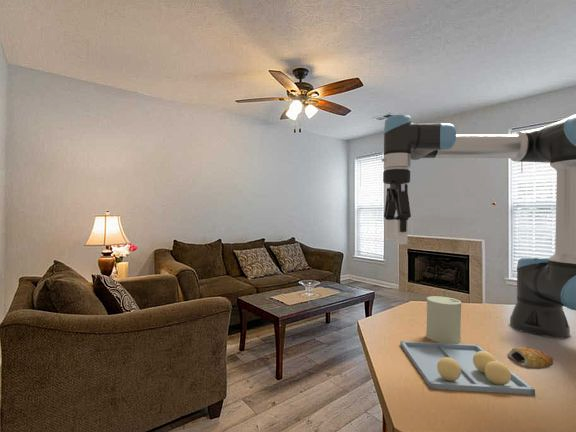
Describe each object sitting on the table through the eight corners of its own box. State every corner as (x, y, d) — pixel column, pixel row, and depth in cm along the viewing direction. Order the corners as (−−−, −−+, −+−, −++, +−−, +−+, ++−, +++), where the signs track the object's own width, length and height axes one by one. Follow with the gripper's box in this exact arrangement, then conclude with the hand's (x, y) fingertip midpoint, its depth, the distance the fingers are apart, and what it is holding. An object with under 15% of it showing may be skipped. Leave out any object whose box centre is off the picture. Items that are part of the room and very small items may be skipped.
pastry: (535, 356, 82) (535, 341, 82) (562, 369, 75) (563, 353, 75) (504, 359, 80) (505, 344, 80) (529, 372, 73) (530, 356, 73)
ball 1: (489, 367, 73) (489, 348, 73) (501, 378, 69) (501, 356, 69) (468, 366, 74) (469, 347, 74) (479, 376, 69) (479, 355, 69)
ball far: (455, 375, 70) (455, 354, 70) (465, 386, 65) (465, 363, 65) (433, 373, 70) (433, 353, 70) (442, 384, 65) (442, 362, 65)
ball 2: (502, 378, 68) (502, 357, 68) (515, 390, 64) (516, 367, 64) (480, 377, 69) (480, 356, 69) (492, 389, 64) (492, 366, 64)
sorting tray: (477, 350, 84) (477, 344, 84) (534, 397, 62) (535, 389, 62) (400, 346, 86) (400, 341, 86) (430, 391, 64) (430, 383, 64)
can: (465, 347, 86) (466, 303, 86) (429, 344, 88) (430, 301, 88) (455, 335, 95) (455, 295, 95) (422, 332, 97) (423, 293, 97)
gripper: (375, 175, 105) (374, 238, 105) (394, 162, 81) (392, 245, 81) (398, 175, 105) (397, 239, 105) (424, 162, 80) (423, 246, 80)
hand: (395, 242), depth 93 cm, fingers open, 13 cm apart
